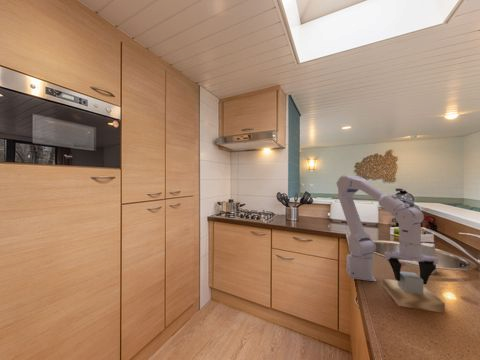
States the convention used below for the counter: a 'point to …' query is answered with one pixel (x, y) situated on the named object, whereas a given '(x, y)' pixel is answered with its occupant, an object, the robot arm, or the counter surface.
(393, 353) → the counter surface
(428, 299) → the oak base
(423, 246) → the skincare box
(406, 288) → the grey cube
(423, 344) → the counter surface
